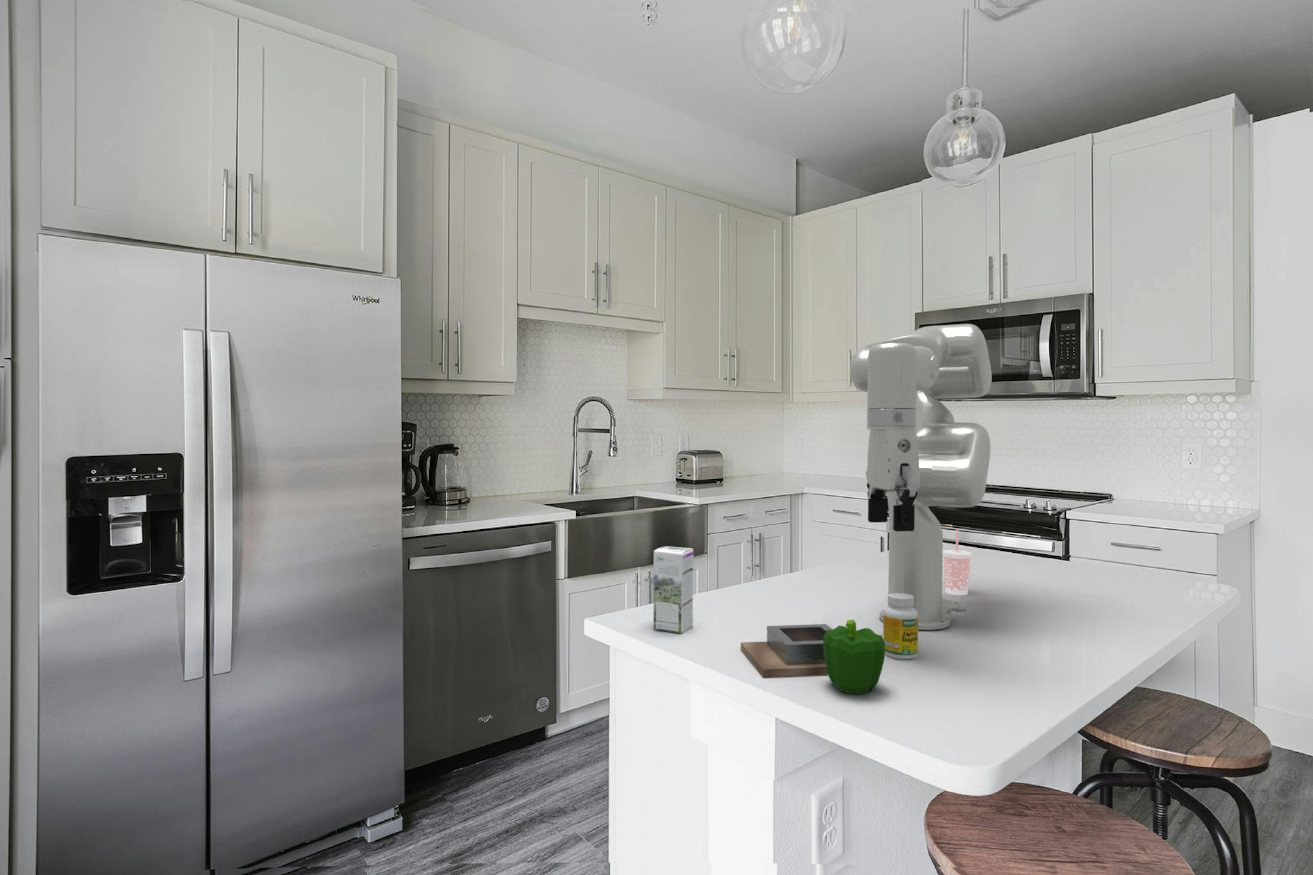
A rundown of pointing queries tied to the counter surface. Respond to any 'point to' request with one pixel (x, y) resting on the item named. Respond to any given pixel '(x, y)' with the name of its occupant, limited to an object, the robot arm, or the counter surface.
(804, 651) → the socket collar
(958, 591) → the beverage cup
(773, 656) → the docking plate
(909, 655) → the supplement bottle
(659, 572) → the syrup box
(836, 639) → the bell pepper
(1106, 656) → the counter surface
